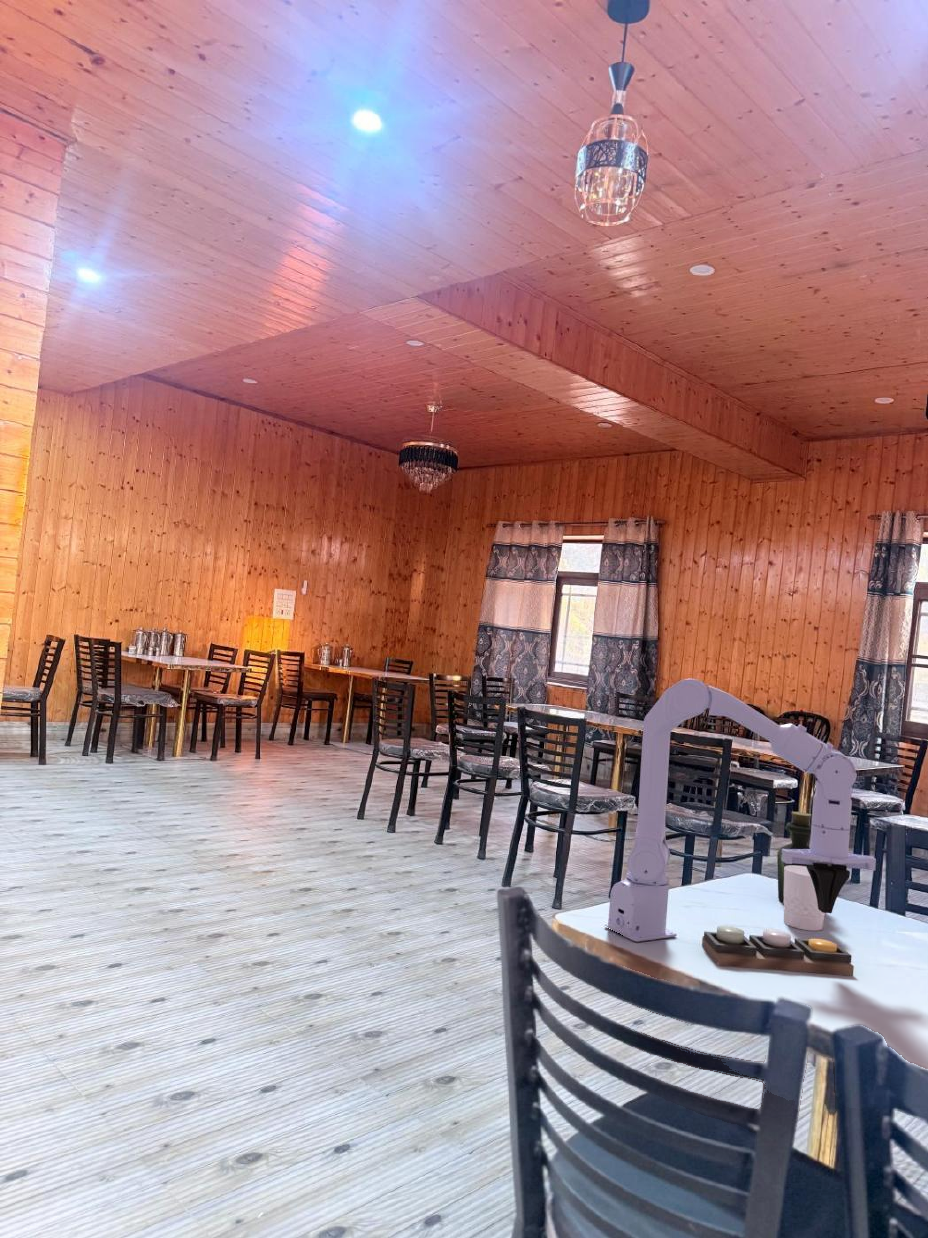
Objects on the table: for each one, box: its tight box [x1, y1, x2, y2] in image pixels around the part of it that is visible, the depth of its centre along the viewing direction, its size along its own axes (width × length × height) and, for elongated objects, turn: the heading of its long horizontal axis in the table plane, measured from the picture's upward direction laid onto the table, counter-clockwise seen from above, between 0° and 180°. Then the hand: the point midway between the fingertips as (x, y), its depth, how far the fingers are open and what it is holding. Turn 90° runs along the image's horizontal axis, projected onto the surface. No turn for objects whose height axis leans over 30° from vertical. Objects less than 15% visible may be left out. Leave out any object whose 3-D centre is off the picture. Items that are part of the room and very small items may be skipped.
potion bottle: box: [776, 811, 812, 904], centre depth 175 cm, size 8×8×18 cm
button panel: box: [701, 931, 854, 977], centre depth 138 cm, size 21×9×3 cm, turn 91°
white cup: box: [783, 865, 826, 932], centre depth 159 cm, size 8×8×10 cm
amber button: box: [808, 938, 838, 953], centre depth 138 cm, size 4×4×1 cm
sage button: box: [716, 925, 745, 943], centre depth 138 cm, size 4×4×1 cm
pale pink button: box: [762, 928, 792, 947], centre depth 138 cm, size 4×4×1 cm
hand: (824, 911), depth 138 cm, fingers closed
